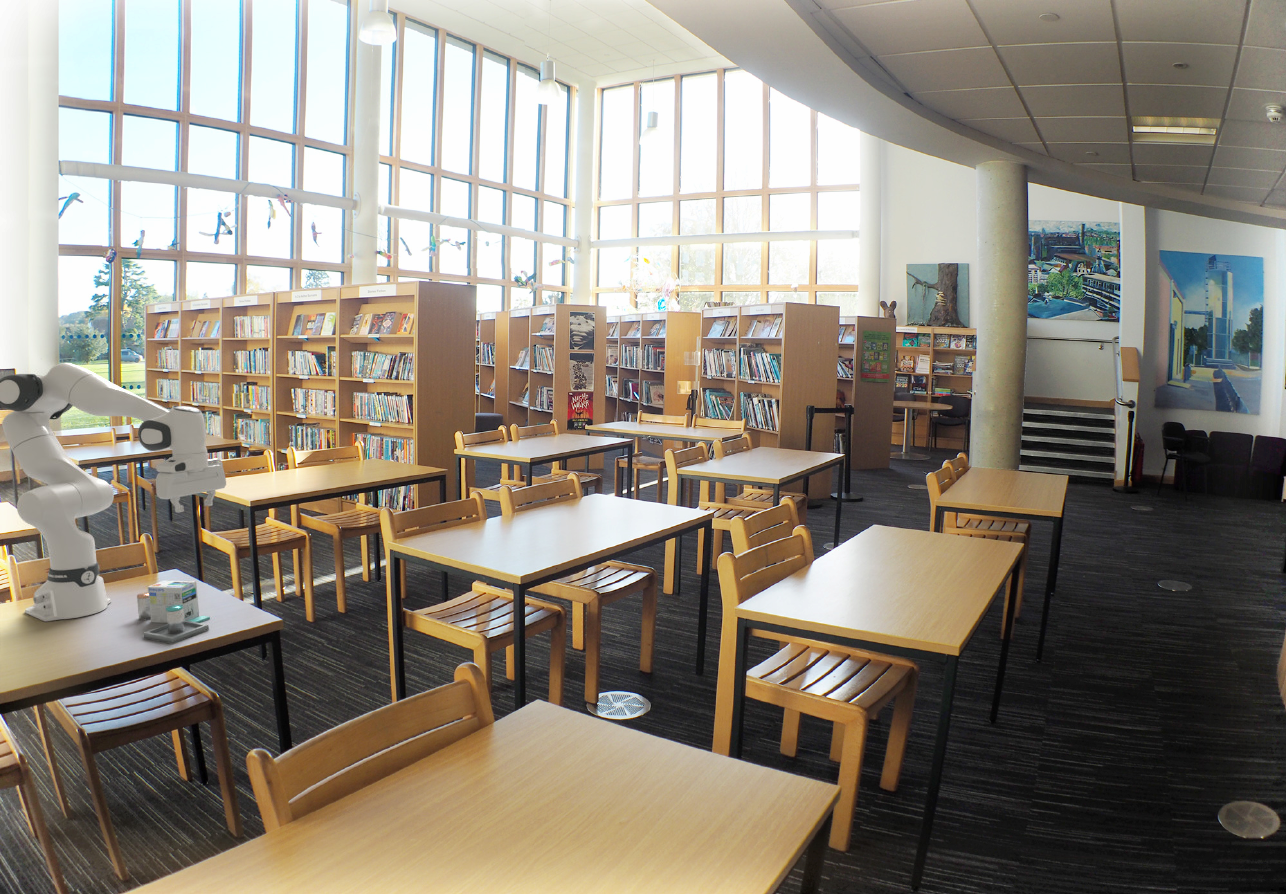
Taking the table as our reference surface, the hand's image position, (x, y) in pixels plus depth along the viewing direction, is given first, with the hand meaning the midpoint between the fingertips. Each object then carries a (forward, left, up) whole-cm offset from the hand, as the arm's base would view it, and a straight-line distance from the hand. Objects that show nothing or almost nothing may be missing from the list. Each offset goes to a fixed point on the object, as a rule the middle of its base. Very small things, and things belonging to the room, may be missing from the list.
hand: (194, 508), depth 230 cm
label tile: (+6, -6, -31) cm, 32 cm away
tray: (+10, -16, -31) cm, 36 cm away
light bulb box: (-1, -8, -31) cm, 32 cm away
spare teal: (+10, -16, -30) cm, 36 cm away
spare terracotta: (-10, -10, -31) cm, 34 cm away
